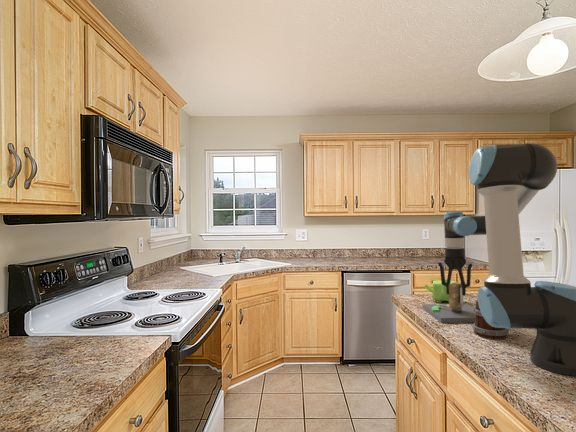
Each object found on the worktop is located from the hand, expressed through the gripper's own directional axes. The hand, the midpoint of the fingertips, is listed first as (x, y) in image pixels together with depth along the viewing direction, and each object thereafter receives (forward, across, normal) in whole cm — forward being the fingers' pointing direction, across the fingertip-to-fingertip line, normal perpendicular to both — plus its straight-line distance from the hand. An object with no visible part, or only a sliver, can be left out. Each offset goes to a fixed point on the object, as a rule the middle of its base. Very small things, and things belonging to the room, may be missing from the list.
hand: (456, 302), depth 149 cm
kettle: (+6, +8, -24) cm, 26 cm away
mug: (+6, -14, +17) cm, 23 cm away
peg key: (+4, +3, -1) cm, 5 cm away
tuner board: (+6, +1, -2) cm, 6 cm away
